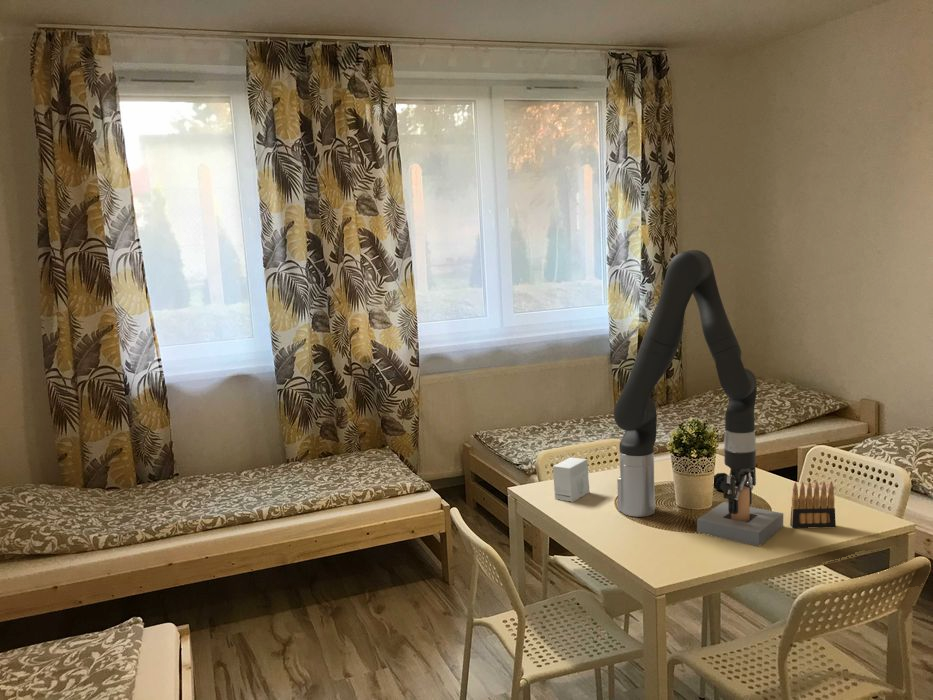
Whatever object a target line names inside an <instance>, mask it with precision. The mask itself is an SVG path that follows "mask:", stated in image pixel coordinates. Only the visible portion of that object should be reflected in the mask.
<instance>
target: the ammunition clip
mask: <svg viewBox="0 0 933 700" xmlns="http://www.w3.org/2000/svg"><path fill="white" fill-rule="evenodd" d="M799 487H800V488H798V484H797V482H796V481H795V482H794V483H793V487H792V496H791V510H790V523H789V526H790V527H791V528H792V529H809V528H808V527H835V528H837V525H836V524H837V523H836V522H837V521H836V508H835V493H834V484H833V481H832V480H830V482H829V484H828V491H827V485H826V482H825V481H822V483H821V489H820V486H819V483H818V481H815V483H814V486H812V483H811V481H809V482H808V483H807V487H805V484H804V482H803V481H801V483H800V486H799ZM805 488H806V489H805Z"/></svg>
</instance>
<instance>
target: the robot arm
mask: <svg viewBox="0 0 933 700" xmlns="http://www.w3.org/2000/svg"><path fill="white" fill-rule="evenodd" d="M692 295H693V297H694V299H695V301H696V305H697V308H698V311H699V312H698V313H699V316H700V317H699V318H700V323H701V328H702V333H703V336H704V340H705V343H706V344H707V347H708V349H709V352H710V354H711V356H712V358H713V359H712V360H714V363H715V370H716V372H717V373H716V374H717V378H718V380H719V383H720V387H721V388H722V390H723V393H724V394H725V395H726V396H727V397H728V405H727V408H726V410H725V413H724V415H725V417H724V421H725V423H724V425H725V426H724V438H723V443H724V444H723V445H724V447H723V448H724V452H723V453H724V454H723V455H724V456H723V457H724V461H723V462H724V465H725V466H727V467H728V468H729V469H730V471H729V474H727V475H725V476H724V491H723V498H724V499H727V501H728V502H727V503H728V510H729V513H731V514H737V513H738V496H739V493H740V492H742V489H743V486H746V487H748V488H749V489H750V505H751V504H752V500H753V497H752V494H753V493H752V491H753V489H754V487H755V486H756V483H757V476H756V463H757V461H756V459H757V457H756V456H757V455H756V453H757V450H756V448H757V447H756V446H757V443H756V442H757V441H756V438H757V437H756V431H755V429H756V428H755V427H756V426H755V422H756V421H755V407H756V400H757V388H758V385H757V379H756V378H757V377H756V375H755V373H753V372H752V371H751V370H750V369H749V368H745V366H744V363H743V361H742V350H741V346H740V344H739V341H738V339H737V337H736V335H735V332H734V330H733V328H732V325H731V323H730V320H729V318H728V315H727V313H726V310H725V308H724V304H723V301H722V297H721V296H720V295H721V294H720V292H719V288H718V284H717V280H716V276H715V271H714V266H713V264H712V260H711V258H710V256H709V255H708V254H707V253H705V252H704V251H703V250H698V249H691V250H686V251H682V252H678V253H677V254H675V255H674V256H673V257H672V259H671V260H670V261H669V264H668V265H667V269H666V274H665V277H664V280H663V284H662V288H661V292H660V296H659V298H658V301H657V304H656V306H655V308H654V310H653V312H652V315H651V318H650V320H649V323H648V325H647V328H646V330H645V333H644V335H643V337H642V341H641V343H640V345H639V349H638V352H637V355H636V356H635V360H634V363H633V365H632V368H631V371H630V374H629V376H628V379H627V381H626V383H625V385H624V387H623V389H622V391H621V393H620V395H619V397H618V399H617V401H616V403H615V405H614V408H613V418H614V422H615V423H616V426H617V427H618V428H620V429H621V430H623V431H624V435H623V436H622V438H621V440H620V441H619V471H620V472H619V474H620V475H619V476H618V478H617V480H616V481H617V482H616V483H617V511H618V512H620V513H622V514H624V515H626V516H629V517H637V518H639V517H642V518H643V517H649V516H651V515H653V514H655V512H656V510H655V509H656V504H655V503H656V502H655V500H656V499H655V497H656V496H655V491H656V490H655V458H654V457H655V456H654V455H655V454H654V452H655V451H654V450H655V449H654V447H655V443H656V440H657V424H658V423H657V418H658V417H657V407H656V403H655V401H654V400H653V398H652V397H651V395H652V392H653V391H654V389H655V387H656V386H657V384H658V382H659V381H660V379H661V378H662V377H663V375H664V374H665V373H666V372H667V370H668V369H669V368H670V365H672V362H673V361H674V359H675V356H676V354H677V351H678V349H679V346H680V343H681V341H682V337H683V332H684V323H685V322H684V321H685V314H686V313H685V312H686V309H687V306H688V304H689V302H690V300H691V297H692ZM735 491H736V493H735Z"/></svg>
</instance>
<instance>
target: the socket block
mask: <svg viewBox="0 0 933 700" xmlns="http://www.w3.org/2000/svg"><path fill="white" fill-rule="evenodd" d="M783 527H784V513H783V512H778V511H773V510H768V509H764V508H763V509H762V508H757V507H753V506H750V521H749V522H748V523H746V522H741V521H737V520H732V519H731V513H729V510H728V502H726V501H723V502H721V503H720V504H718V505H716V506H715V507H713V508H712V509H711V510H709V511H707V512H705V513H704V514H703V515H702V516H699V517H698V518H697V519H696V533H698V532H701V533H700V534H702V533H705V534H704V535H707V534H709V535H708V536H711V535H712V536H711V537H715V536H716V537H717V538H721V539H723V540H729V541H734V542H738V543H742V544H746V545H751V546H755V547H760V546H761V545H762V544H763V543H765V542H766V541H767V540H768V539H770V538H771V537H772V536H773V535H775V534H776V533H777V532H778V531H780V530H781V529H782V528H783Z"/></svg>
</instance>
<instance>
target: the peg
mask: <svg viewBox="0 0 933 700" xmlns="http://www.w3.org/2000/svg"><path fill="white" fill-rule="evenodd" d="M735 493H736V491H735ZM750 505H751V504H750V489H749V488H748V487H746V486H743V489H742V492H740V493H739V496H738V513H737V514H731V519H732V520H737V521H741V522H746V523H748V522H749V521H750V507H751V506H750Z"/></svg>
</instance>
